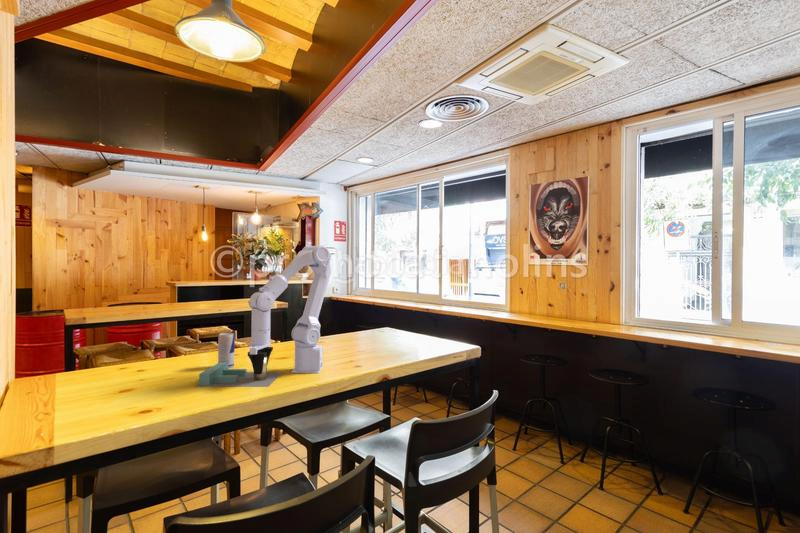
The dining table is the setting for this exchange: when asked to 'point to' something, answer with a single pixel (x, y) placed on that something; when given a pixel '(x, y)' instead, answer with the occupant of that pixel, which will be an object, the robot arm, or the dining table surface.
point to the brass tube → (264, 373)
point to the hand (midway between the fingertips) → (260, 372)
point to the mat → (248, 381)
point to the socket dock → (220, 374)
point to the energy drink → (226, 348)
